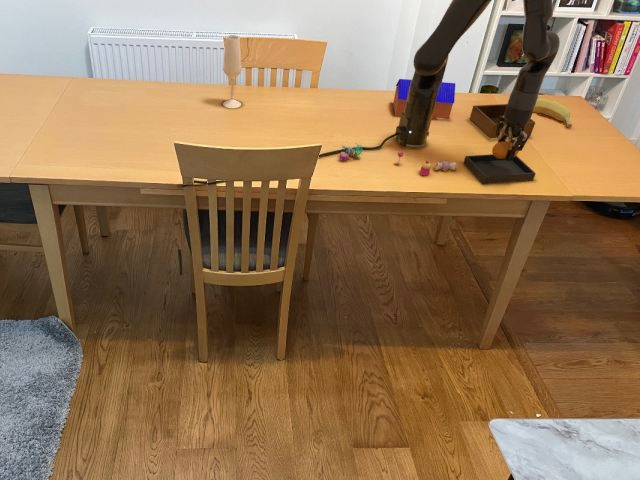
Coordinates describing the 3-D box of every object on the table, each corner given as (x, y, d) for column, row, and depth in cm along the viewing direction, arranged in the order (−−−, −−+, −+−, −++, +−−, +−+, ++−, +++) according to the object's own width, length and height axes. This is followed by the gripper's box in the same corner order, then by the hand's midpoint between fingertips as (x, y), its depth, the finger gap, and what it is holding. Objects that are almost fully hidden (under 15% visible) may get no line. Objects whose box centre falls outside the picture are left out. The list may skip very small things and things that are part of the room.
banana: (538, 87, 222) (584, 113, 211) (534, 99, 226) (578, 125, 216) (513, 103, 218) (558, 130, 208) (509, 115, 222) (553, 142, 212)
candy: (449, 164, 189) (454, 147, 185) (456, 176, 183) (462, 159, 179) (394, 162, 188) (398, 145, 184) (399, 175, 182) (403, 158, 178)
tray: (482, 184, 180) (485, 176, 178) (463, 163, 190) (465, 155, 188) (532, 180, 183) (535, 173, 181) (511, 160, 193) (513, 152, 191)
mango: (495, 162, 180) (500, 147, 177) (487, 154, 184) (492, 139, 181) (519, 160, 182) (524, 145, 178) (510, 152, 186) (515, 137, 182)
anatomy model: (333, 140, 188) (344, 147, 183) (354, 137, 191) (366, 143, 186) (332, 155, 191) (343, 163, 186) (353, 152, 194) (364, 159, 189)
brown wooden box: (489, 140, 203) (494, 124, 199) (468, 120, 214) (473, 105, 211) (529, 137, 206) (535, 122, 202) (507, 118, 217) (512, 103, 213)
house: (392, 103, 224) (398, 72, 216) (444, 107, 223) (452, 76, 215) (394, 116, 215) (400, 85, 207) (449, 120, 213) (457, 89, 206)
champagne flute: (240, 100, 220) (242, 34, 204) (241, 108, 215) (242, 40, 199) (222, 100, 219) (223, 34, 204) (223, 107, 214) (223, 40, 199)
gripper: (497, 94, 176) (481, 145, 187) (522, 114, 166) (504, 168, 177) (520, 93, 178) (502, 144, 189) (546, 113, 167) (526, 166, 178)
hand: (503, 155), depth 183 cm, fingers closed on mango, 5 cm apart
